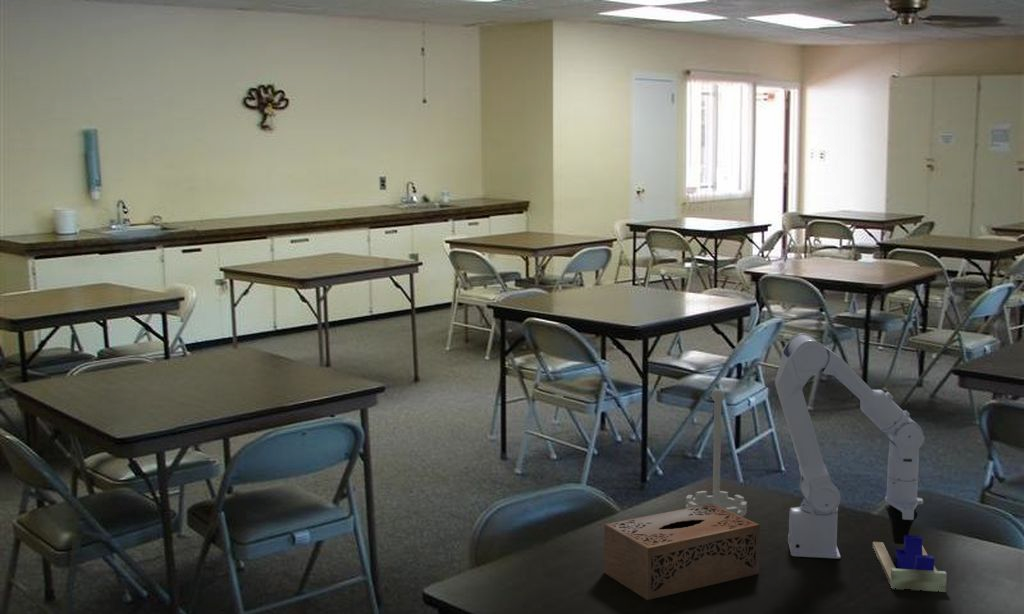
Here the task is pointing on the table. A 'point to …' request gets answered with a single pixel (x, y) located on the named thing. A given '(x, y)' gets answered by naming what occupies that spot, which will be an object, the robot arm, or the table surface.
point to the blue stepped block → (913, 555)
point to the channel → (909, 573)
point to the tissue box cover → (681, 550)
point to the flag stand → (718, 471)
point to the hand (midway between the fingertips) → (899, 542)
